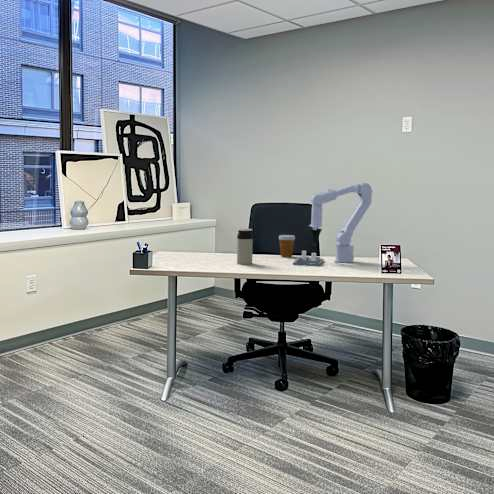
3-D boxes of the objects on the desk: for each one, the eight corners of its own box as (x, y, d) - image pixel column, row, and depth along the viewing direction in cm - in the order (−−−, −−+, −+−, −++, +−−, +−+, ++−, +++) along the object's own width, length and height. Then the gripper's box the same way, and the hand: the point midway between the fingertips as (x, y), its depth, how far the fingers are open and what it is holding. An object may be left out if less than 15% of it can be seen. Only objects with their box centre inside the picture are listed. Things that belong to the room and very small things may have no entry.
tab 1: (306, 258, 303) (306, 250, 302) (305, 259, 299) (305, 251, 298) (302, 258, 303) (302, 250, 303) (301, 259, 300) (301, 251, 299)
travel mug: (250, 265, 289) (251, 230, 286) (235, 264, 290) (235, 229, 288) (253, 262, 296) (254, 228, 294) (238, 262, 298) (239, 228, 296)
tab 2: (316, 260, 295) (316, 252, 295) (315, 262, 291) (315, 253, 291) (311, 260, 296) (312, 252, 295) (310, 261, 292) (311, 253, 291)
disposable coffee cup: (274, 256, 320) (275, 235, 319) (287, 255, 326) (287, 234, 324) (285, 258, 313) (286, 237, 311) (298, 257, 318) (298, 236, 317)
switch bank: (323, 261, 305) (323, 256, 304) (320, 266, 287) (320, 261, 287) (297, 259, 308) (298, 255, 308) (292, 264, 291) (293, 260, 290)
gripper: (311, 215, 308) (309, 240, 310) (307, 217, 294) (306, 243, 296) (323, 216, 307) (322, 241, 309) (321, 218, 293) (319, 244, 295)
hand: (315, 242), depth 302 cm, fingers closed
